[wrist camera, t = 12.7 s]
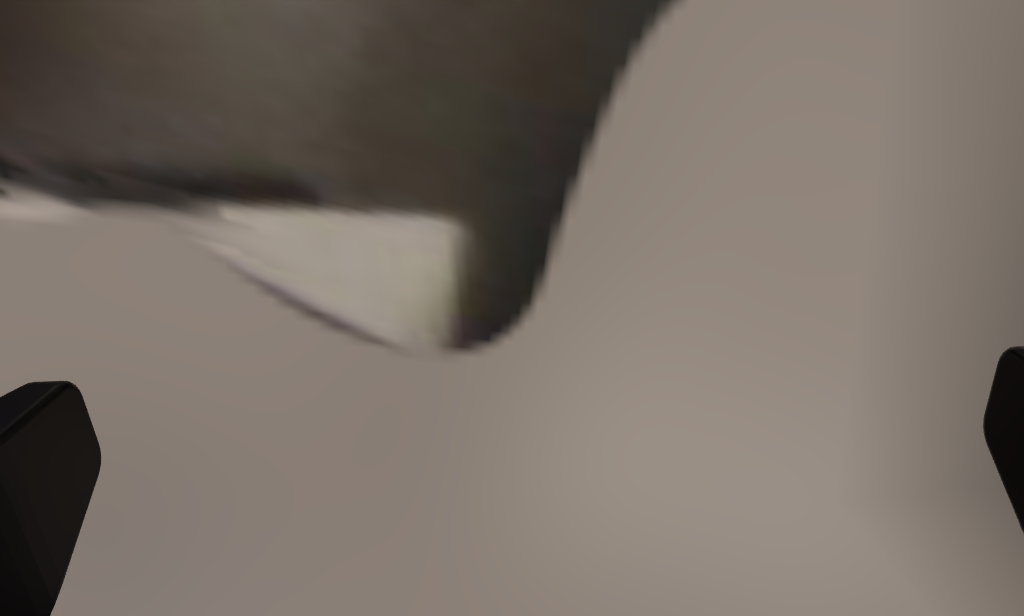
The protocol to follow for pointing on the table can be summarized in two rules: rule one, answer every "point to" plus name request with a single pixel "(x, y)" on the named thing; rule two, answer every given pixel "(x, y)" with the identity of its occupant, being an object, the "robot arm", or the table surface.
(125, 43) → the table surface
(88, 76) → the table surface
